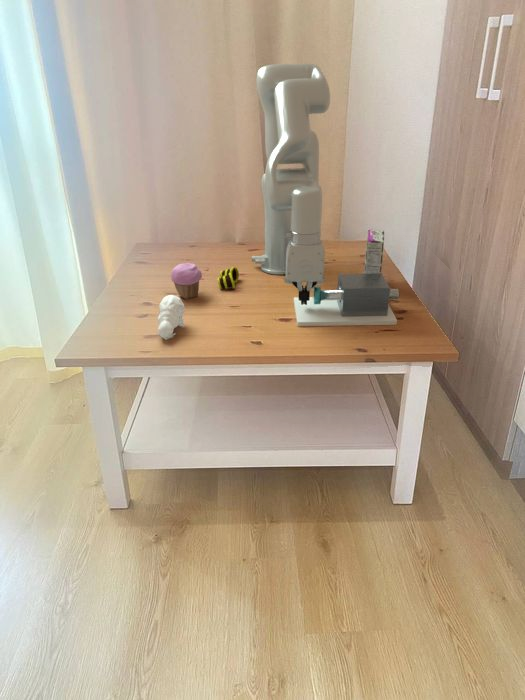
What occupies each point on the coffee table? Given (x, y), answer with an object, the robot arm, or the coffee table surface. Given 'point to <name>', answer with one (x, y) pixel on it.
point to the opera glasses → (228, 278)
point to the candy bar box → (374, 251)
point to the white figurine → (170, 316)
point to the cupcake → (186, 279)
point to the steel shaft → (336, 294)
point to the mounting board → (334, 315)
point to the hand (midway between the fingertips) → (303, 302)
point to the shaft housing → (363, 295)
